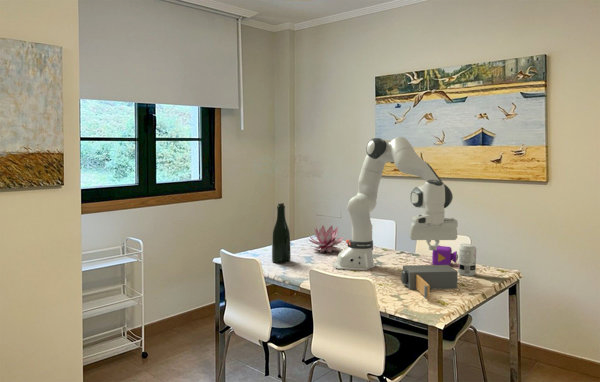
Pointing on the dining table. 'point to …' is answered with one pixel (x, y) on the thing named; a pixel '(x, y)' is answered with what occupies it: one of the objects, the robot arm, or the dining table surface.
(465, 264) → the supplement can
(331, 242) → the decorative flower
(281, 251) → the beer bottle
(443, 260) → the toy camera
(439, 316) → the dining table surface
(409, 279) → the grey cabinet
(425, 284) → the side door
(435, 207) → the robot arm
